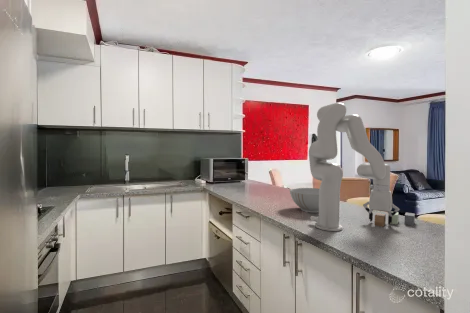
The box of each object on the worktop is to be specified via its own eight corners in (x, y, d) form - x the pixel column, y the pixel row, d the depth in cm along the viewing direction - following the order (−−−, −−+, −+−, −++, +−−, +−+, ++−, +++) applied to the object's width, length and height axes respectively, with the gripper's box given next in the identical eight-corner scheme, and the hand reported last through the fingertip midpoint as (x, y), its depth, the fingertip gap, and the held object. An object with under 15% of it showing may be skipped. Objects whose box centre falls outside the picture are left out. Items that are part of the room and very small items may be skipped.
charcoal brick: (413, 226, 134) (414, 216, 134) (404, 224, 136) (404, 214, 136) (414, 223, 139) (414, 213, 139) (405, 221, 142) (405, 212, 142)
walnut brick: (383, 226, 131) (383, 216, 131) (374, 225, 134) (374, 215, 133) (385, 223, 137) (385, 214, 137) (376, 222, 139) (377, 213, 139)
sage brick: (397, 224, 135) (397, 215, 135) (388, 223, 138) (388, 213, 138) (398, 221, 141) (398, 212, 141) (389, 220, 143) (390, 211, 143)
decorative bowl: (287, 213, 155) (287, 193, 155) (291, 204, 181) (291, 186, 181) (335, 217, 147) (336, 196, 147) (332, 207, 173) (333, 189, 173)
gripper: (361, 187, 137) (360, 220, 137) (400, 190, 126) (399, 227, 127) (364, 185, 143) (363, 217, 143) (401, 189, 132) (400, 223, 133)
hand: (380, 222), depth 135 cm, fingers open, 7 cm apart
